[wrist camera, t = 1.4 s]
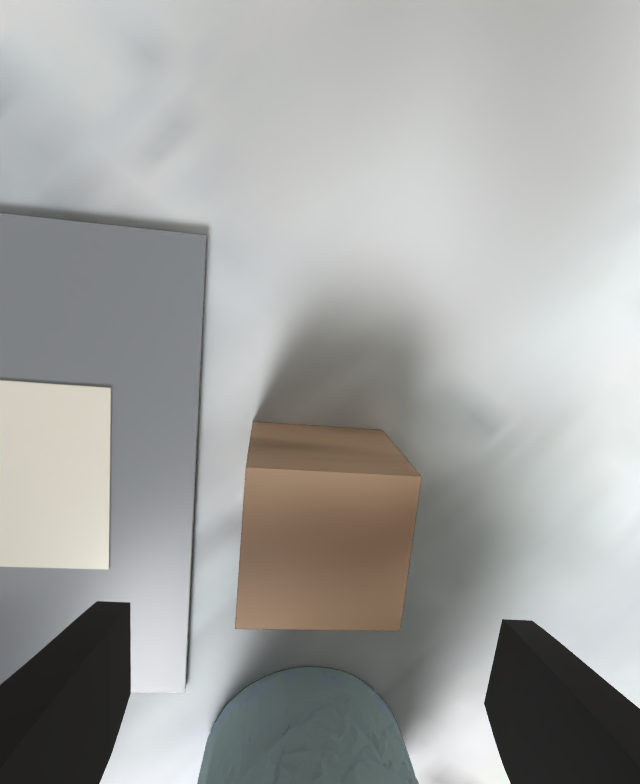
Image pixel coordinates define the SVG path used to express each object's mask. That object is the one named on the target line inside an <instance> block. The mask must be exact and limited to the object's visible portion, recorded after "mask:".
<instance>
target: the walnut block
mask: <svg viewBox="0 0 640 784" xmlns="http://www.w3.org/2000/svg"><path fill="white" fill-rule="evenodd" d="M421 478H422V477H421V475H420V474H419V473H418V472H417V471H416V469H415V468H414V467H413V466H412V465H411V464H410V462H409V461H408V460H407V459H406V458H405V456H404V455H403V454H402V453H401V452H400V450H399V449H398V448H397V447H396V446H395V445H394V443H393V442H392V441H391V440H390V439H389V437H388V436H387V435H386V434H385V433H384V431H383V430H375V429H359V428H344V427H328V426H313V425H297V424H282V423H266V422H253V423H252V430H251V437H250V443H249V450H248V456H247V463H246V472H245V487H244V502H243V517H242V532H241V546H240V561H239V576H238V591H237V606H236V621H235V629H293V630H367V631H400V627H401V620H402V613H403V606H404V599H405V592H406V585H407V577H408V570H409V563H410V556H411V549H412V542H413V535H414V528H415V521H416V513H417V506H418V499H419V492H420V485H421Z"/></svg>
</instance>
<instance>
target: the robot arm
mask: <svg viewBox="0 0 640 784" xmlns="http://www.w3.org/2000/svg"><path fill="white" fill-rule="evenodd" d="M130 693H131V625H130V602H108V601H97V602H95V603H94V604H93V605H92V606H91V607H89V608H88V609H87V610H86V611H85V612H84V613H82V614H81V615H80V616H79V617H78V618H77V619H75V620H74V621H73V622H72V623H71V624H70V625H69V626H68V627H66V628H65V629H64V630H63V631H62V632H61V633H60V634H59V635H57V636H56V637H55V638H54V639H53V640H52V641H51V642H49V643H48V644H47V645H46V646H45V647H44V648H43V649H41V650H40V651H39V652H38V653H37V654H36V655H35V656H33V657H32V658H31V659H30V660H29V661H28V662H26V663H25V664H24V665H23V666H22V667H21V668H19V669H18V670H17V671H16V672H15V673H13V674H12V675H11V676H10V677H9V678H8V679H6V680H5V681H4V682H3V683H2V684H0V784H99V783H100V780H101V778H102V776H103V773H104V771H105V768H106V766H107V764H108V761H109V759H110V756H111V754H112V751H113V747H114V744H115V741H116V738H117V735H118V732H119V729H120V726H121V723H122V719H123V716H124V713H125V709H126V706H127V703H128V700H129V696H130ZM484 705H485V708H486V711H487V715H488V718H489V722H490V725H491V728H492V732H493V735H494V738H495V741H496V745H497V748H498V751H499V754H500V757H501V760H502V763H503V766H504V768H505V771H506V773H507V775H508V778H509V780H510V783H511V784H640V709H639V708H638V707H637V706H636V705H634V704H633V703H632V702H631V701H629V700H628V699H627V698H626V697H625V696H623V695H622V694H621V693H620V692H618V691H617V690H616V689H615V688H614V687H612V686H611V685H610V684H609V683H608V682H606V681H605V680H604V679H603V678H602V677H600V676H599V675H598V674H597V673H596V672H594V671H593V670H592V669H591V668H590V667H589V666H587V665H586V664H585V663H584V662H583V661H581V660H580V659H579V658H578V657H577V656H575V655H574V654H573V653H572V652H571V651H569V650H568V649H567V648H566V647H565V646H563V645H562V644H561V643H560V642H559V641H557V640H556V639H555V638H554V637H552V636H551V635H550V634H549V633H547V632H546V631H545V630H544V629H542V628H541V627H540V626H538V625H537V624H536V623H535V622H533V621H526V620H504V619H502V624H501V628H500V633H499V638H498V642H497V647H496V651H495V656H494V661H493V665H492V670H491V674H490V679H489V684H488V688H487V693H486V698H485V702H484Z"/></svg>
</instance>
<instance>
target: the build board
mask: <svg viewBox="0 0 640 784" xmlns="http://www.w3.org/2000/svg"><path fill="white" fill-rule="evenodd" d="M206 241H207V236H206V235H200V234H190V233H181V232H172V231H163V230H153V229H144V228H135V227H125V226H116V225H107V224H98V223H88V222H79V221H70V220H61V219H51V218H42V217H33V216H23V215H14V214H5V213H0V684H2V683H3V682H4V681H5V680H6V679H8V678H9V677H10V676H11V675H12V674H13V673H15V672H16V671H17V670H18V669H19V668H21V667H22V666H23V665H24V664H25V663H26V662H28V661H29V660H30V659H31V658H32V657H33V656H35V655H36V654H37V653H38V652H39V651H40V650H41V649H43V648H44V647H45V646H46V645H47V644H48V643H49V642H51V641H52V640H53V639H54V638H55V637H56V636H57V635H59V634H60V633H61V632H62V631H63V630H64V629H65V628H66V627H68V626H69V625H70V624H71V623H72V622H73V621H74V620H75V619H77V618H78V617H79V616H80V615H81V614H82V613H84V612H85V611H86V610H87V609H88V608H89V607H91V606H92V605H93V604H94V603H95V602H97V601H108V602H130V625H131V693H185V689H186V675H187V653H188V631H189V610H190V588H191V566H192V545H193V523H194V501H195V480H196V458H197V436H198V414H199V393H200V371H201V349H202V328H203V306H204V284H205V263H206Z"/></svg>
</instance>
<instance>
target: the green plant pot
mask: <svg viewBox="0 0 640 784" xmlns="http://www.w3.org/2000/svg"><path fill="white" fill-rule="evenodd" d="M197 784H419V783H418V781H417V779H416V777H415V774H414V770H413V767H412V764H411V761H410V758H409V755H408V752H407V749H406V747H405V744H404V741H403V738H402V736H401V733H400V730H399V728H398V725H397V722H396V720H395V718H394V716H393V714H392V712H391V710H390V708H389V707H388V706H387V705H386V703H385V702H384V701H383V699H382V698H381V697H380V696H379V695H378V694H377V693H375V692H374V690H373V689H372V687H371V686H367V685H366V683H365V682H364V681H362V680H360V679H359V678H357V677H356V676H353V675H351V674H349V673H346V672H343V671H339V670H335V669H330V668H322V667H298V668H292V669H287V670H283V671H279V672H276V673H273V674H270V675H268V676H266V677H264V678H262V679H260V680H258V681H256V682H254V683H252V684H250V685H249V686H247V687H246V688H245V689H243V690H242V691H240V692H239V693H238V694H237V695H236V696H235V697H234V698H233V699H232V700H231V701H230V702H229V703H228V704H227V705H226V706H225V707H224V709H223V711H222V712H221V714H220V716H219V717H218V719H217V721H216V722H215V724H214V726H213V728H212V730H211V733H210V735H209V737H208V740H207V743H206V747H205V752H204V756H203V761H202V765H201V769H200V774H199V778H198V783H197Z"/></svg>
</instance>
